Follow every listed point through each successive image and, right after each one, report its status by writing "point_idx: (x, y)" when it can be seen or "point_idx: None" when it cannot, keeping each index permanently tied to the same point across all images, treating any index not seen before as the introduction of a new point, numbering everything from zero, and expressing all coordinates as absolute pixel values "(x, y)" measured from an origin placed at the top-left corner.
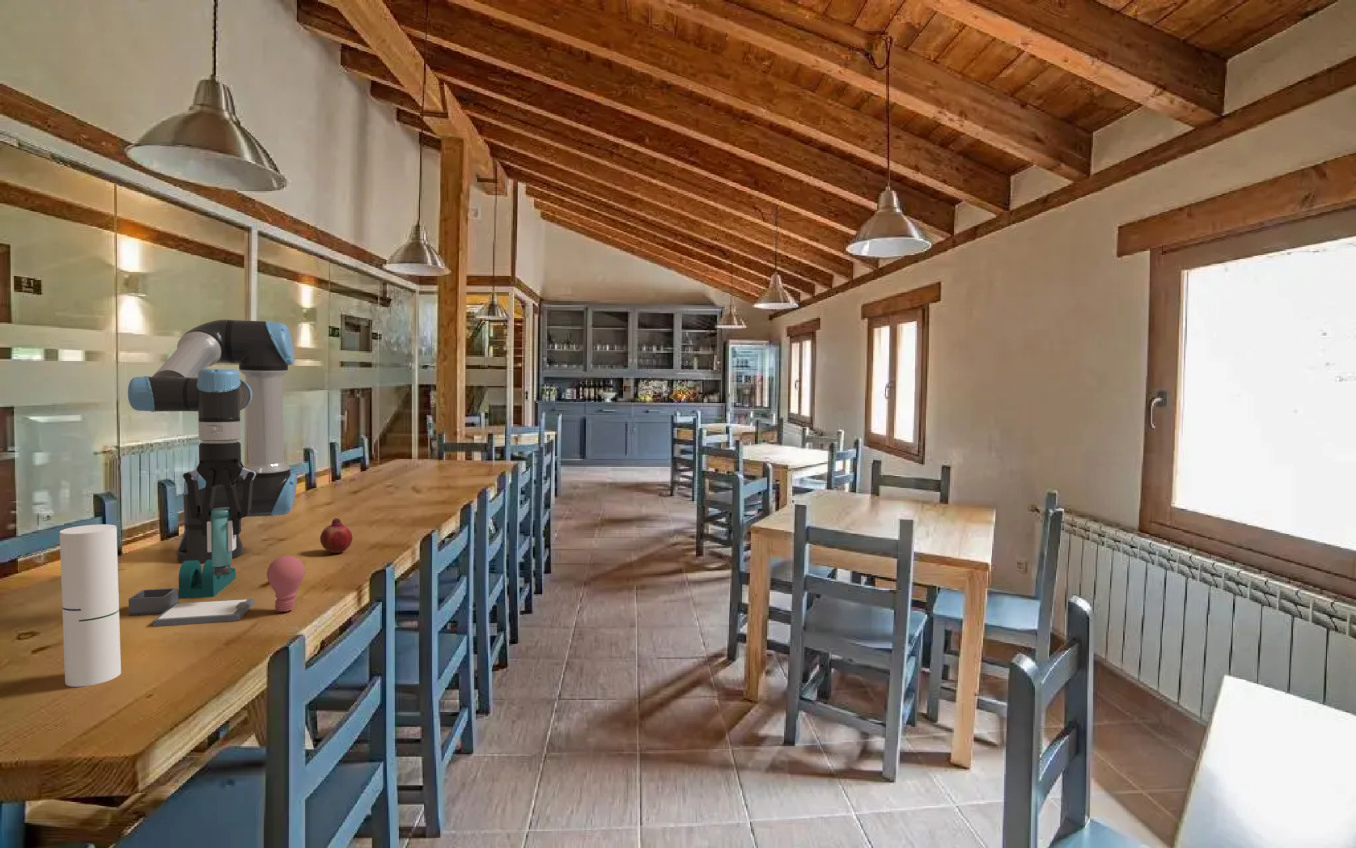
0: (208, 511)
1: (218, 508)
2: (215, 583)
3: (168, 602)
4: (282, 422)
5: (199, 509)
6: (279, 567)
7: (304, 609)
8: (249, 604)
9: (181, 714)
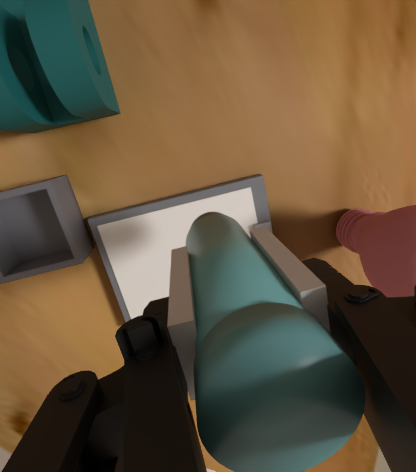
0: (205, 466)
1: (238, 390)
2: (107, 89)
3: (83, 240)
4: None
5: (81, 438)
6: None
7: (385, 209)
8: (269, 214)
9: None
